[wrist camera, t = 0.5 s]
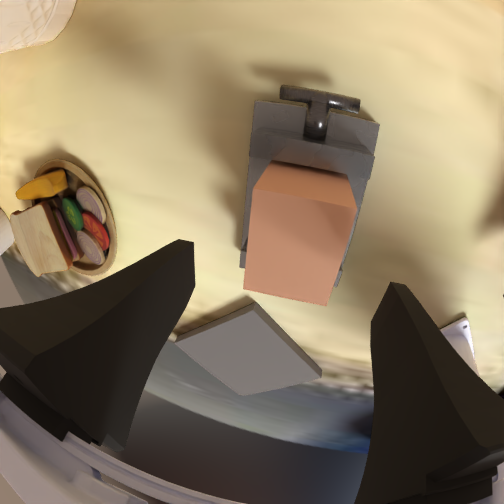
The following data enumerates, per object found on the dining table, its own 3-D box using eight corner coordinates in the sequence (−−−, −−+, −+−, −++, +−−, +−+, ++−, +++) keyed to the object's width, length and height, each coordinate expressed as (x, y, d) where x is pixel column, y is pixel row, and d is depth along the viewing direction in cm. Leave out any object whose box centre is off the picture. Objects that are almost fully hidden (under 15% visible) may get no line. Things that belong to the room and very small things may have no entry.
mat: (322, 369, 26) (321, 377, 26) (243, 389, 32) (241, 396, 31) (255, 301, 23) (253, 310, 22) (177, 336, 28) (174, 343, 28)
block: (275, 154, 15) (253, 188, 10) (344, 167, 15) (357, 208, 10) (265, 229, 18) (243, 289, 13) (326, 241, 18) (326, 306, 13)
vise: (260, 83, 14) (245, 80, 11) (379, 105, 13) (394, 108, 10) (243, 254, 21) (230, 284, 18) (336, 273, 20) (337, 306, 17)
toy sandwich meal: (139, 275, 25) (112, 307, 21) (57, 263, 28) (32, 286, 24) (104, 144, 19) (61, 163, 15) (24, 167, 22) (-8, 184, 18)
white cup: (68, 47, 14) (-34, 63, 6) (24, 52, 14) (-58, 72, 6) (94, -33, 9) (-1, -46, 1) (43, -16, 9) (-38, -13, 1)
